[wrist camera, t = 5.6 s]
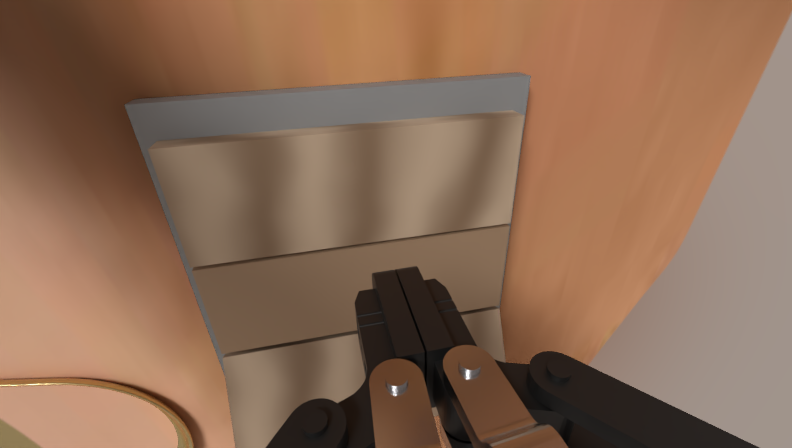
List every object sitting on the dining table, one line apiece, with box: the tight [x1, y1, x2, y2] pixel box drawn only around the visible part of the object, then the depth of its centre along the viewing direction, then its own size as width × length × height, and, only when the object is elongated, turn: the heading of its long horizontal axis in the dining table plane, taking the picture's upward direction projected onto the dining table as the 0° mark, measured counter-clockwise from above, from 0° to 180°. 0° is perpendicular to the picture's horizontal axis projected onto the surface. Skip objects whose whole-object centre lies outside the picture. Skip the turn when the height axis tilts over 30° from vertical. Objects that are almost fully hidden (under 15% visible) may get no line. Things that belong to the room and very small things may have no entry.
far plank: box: [223, 306, 506, 448], centre depth 31 cm, size 22×8×2 cm, turn 92°
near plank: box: [148, 110, 524, 268], centre depth 25 cm, size 22×8×2 cm, turn 92°
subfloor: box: [125, 72, 531, 375], centre depth 30 cm, size 24×28×3 cm
